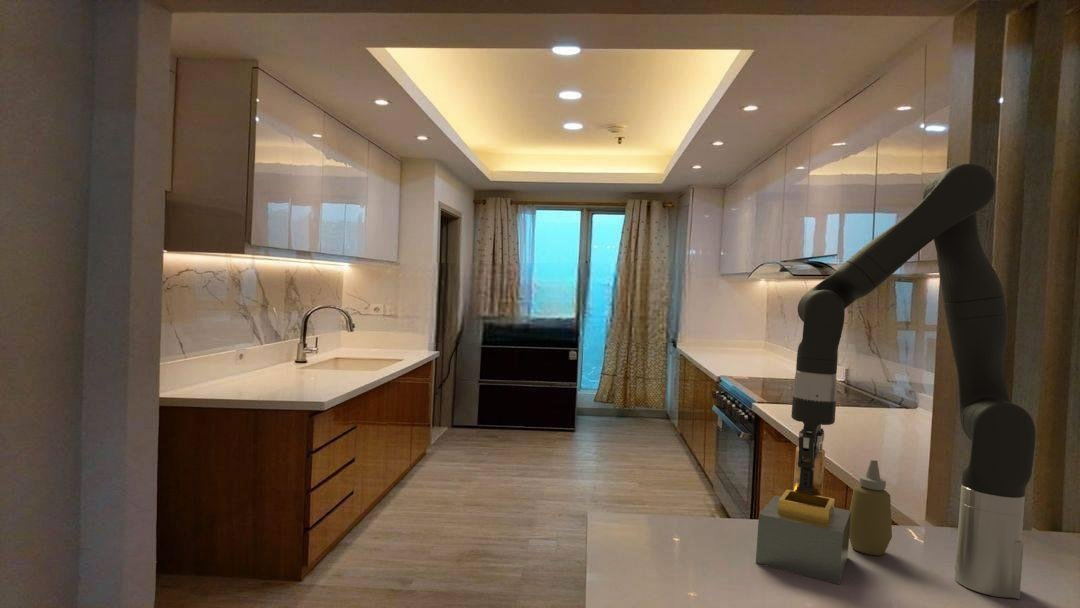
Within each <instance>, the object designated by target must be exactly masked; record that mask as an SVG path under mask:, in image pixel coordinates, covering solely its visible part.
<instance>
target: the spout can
mask: <svg viewBox="0 0 1080 608" xmlns="http://www.w3.org/2000/svg"><path fill="white" fill-rule="evenodd" d="M798 451H799V445H798V446H796V448H795V460H794V475H793V487H792V489H793V491H796V492H798V493H801V494H805V495H811V496H822V495H823V485H824V471H825V458H826V450H825V449H820V451H819V458H818V459H816V460H815V469H814V477H813V489H812V490H811V491H806V490H801V489H800V487H799V485H800V470H801V469H800V467H798V457H799V454H798ZM815 452H816V451H814V453H815ZM804 461H806V462H810V458H809V457H804Z"/></svg>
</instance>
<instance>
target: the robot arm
mask: <svg viewBox="0 0 1080 608" xmlns="http://www.w3.org/2000/svg"><path fill="white" fill-rule="evenodd" d="M995 190H996V182H995V178H994V176H993V174H992V173H991V172H990V171H989V169H987V168H986V167H984V166H982V165H980V164H978V163H977V164H976V163H961V164H960V163H959V164H956V165H953V166H951V167H949V168H947V169H945V170H944V171H941V172H940V173H938V174H936V175H934V176H933V177H932V178H930V180H929V181H928V182H927V183H926V185H925V187H924V189H923V193H922V201H921V202H919V204H918V205H917V206H915V208H914V209H912V210H911V211H910V212H908V213H907V215H905V216H904V217H903V218H901V219H899V220H898V222H896V223H895V224H893V225H892V226H891V227H889V228H887V229H886V230H884V231H883V232H881V233H880V234H879V235H877V236H876V237H875V238H873V239H872V240H871V241H869V242H868V243H867V244H865V245H864V246H863V247H862V248H861V249H859V250H858V251H857V252H855V254H853V255H852V256H851V257H849V258H848V259H847V260H846V261H845V262H843V264H841V266H840V267H838V269H837V270H835V271H834V272H833V273H831V275H829V276H827V277H826V278H825V279H823V280H822V281H820V282H819V283H818V284H816V285H814V287H812V288H811V289H809V290H808V291H807V292H806V293H805V294H804V295H803V296H801V298H800V300H799V301H798V304H797V314H798V317H799V318H800V320H801V321H802V323H803V326H802V338H801V342H799V344H798V347H797V351H796V352H797V353H796V363H795V364H796V365H795V374H794V379H793V380H794V381H793V389H792V403H791V418H792V419H793V420H794V421H796V422H801V423H803V428H802V429H801V430H799V433H798V446H799V451H798V454H799V457H798V467H800V469H801V470H800V485H799V487H800V489H801V490H806V491H811V490H812V489H813V477H814V469H815V460H816V459H818V458H819V451H820V449H823V447H824V445H823V443H824V439H825V430H824V428H822V426H831V425H834V423H835V421H836V410H837V409H836V408H837V395H838V393H837V392H838V379H837V372H838V359H839V358H838V357H839V356H838V355H839V353H838V352H839V351H838V350H839V346H840V341H841V337H842V333H843V329H844V325H845V324H844V323H845V314H846V313H845V312H846V311H845V309H847V308H848V307H849V306H850V305H852V304H853V303H854V302H855V301H857V300H859V299H861V298H863V297H865V296H867V295H869V294H870V293H872V292H873V291H874V290H875V289H876V288H878V287H879V286H881V284H883V283H884V282H885V281H886V280H887V279H888V278H889V277H890V276H891V277H892V275H893V274H895V272H896V271H897V270H899V269H900V268H901V267H902V266H904V265H905V264H906V263H907V262H908V261H909V260H910V259H911V258H912V257H914V256H915V255H916V254H918V253H919V251H921V250H922V249H923V248H924V247H926V246H927V245H928V244H930V243H931V242H932V241H933V242H934V246H935V250H936V259H937V266H938V273H939V279H940V285H941V291H942V292H941V293H942V300H943V301H942V302H943V307H944V314H945V318H946V325H947V328H948V329H947V330H948V333H949V339H950V345H951V351H952V354H953V357H954V363H955V367H956V371H957V372H956V373H957V380H958V398H959V401H958V402H959V403H958V404H959V419H960V426H961V429H962V430H963V432H964V434H965V435H966V437H967V438H968V439H969V440H970V441H971V449H970V458H969V463H968V465H967V467H964V469H963V470H962V473H961V485H960V487H961V488H960V498H959V499H960V500H959V515H958V528H957V540H956V553H955V554H956V555H955V566H954V579H955V581H956V582H957V583H958V584H960V585H961V586H963V587H965V588H967V589H970V590H972V591H975V592H977V593H981V594H983V595H987V596H993V597H998V598H1012V599H1017V600H1020V599H1021V598H1020V597H1021V588H1022V587H1021V584H1022V573H1023V561H1024V560H1023V559H1024V547H1025V546H1024V542H1023V540H1022V539H1023V529H1024V528H1023V526H1024V525H1023V524H1024V510H1025V500H1026V499H1025V496H1026V488H1027V485H1028V484H1029V482H1030V480H1031V478H1032V474H1033V467H1034V466H1033V465H1034V464H1033V463H1034V459H1035V458H1034V457H1035V450H1036V449H1035V448H1036V440H1037V439H1036V437H1037V436H1036V435H1037V434H1036V426H1035V422H1034V419H1033V418H1032V415H1031V414H1030V413H1029V412H1028V411H1027V410H1025V408H1023V407H1022V406H1020V405H1017V404H1016V403H1012V401H1011V398H1010V396H1009V391H1008V387H1007V386H1008V385H1007V382H1006V378H1005V373H1004V372H1005V371H1004V364H1005V363H1004V359H1005V353H1006V348H1007V343H1008V333H1009V315H1008V309H1007V303H1006V298H1005V291H1004V289H1003V285H1002V283H1001V280H1000V278H999V276H998V274H997V272H996V271H995V269H994V267H993V265H992V263H991V262H990V259H989V258H988V256H987V254H986V253H985V251H984V249H983V247H982V244H981V241H980V240H981V239H980V237H979V232H978V223H977V222H978V221H977V220H978V219H977V213H978V212H980V211H982V210H983V209H984V208H985V207H986V206H988V204H989V203H990V202H991V200H992V199H993V197H994V195H995ZM823 450H824V449H823ZM814 451H816V452H815V453H814ZM804 457H809V458H810V462H806V461H804Z"/></svg>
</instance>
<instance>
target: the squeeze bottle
mask: <svg viewBox="0 0 1080 608" xmlns="http://www.w3.org/2000/svg"><path fill="white" fill-rule="evenodd" d="M867 467H868V468H867V471H866V474H865V475H860V476H859V480H858V481H859V482H858V484H859V485H858V486H855V487H854V488H853V490H852V491H853V492H852V497H851V502H850V507H849V511H851V518H850V532H849V542H850V545H851V548H852V547H853V548H854V549H853V548H852V549H853V550H855V551H857V550H858V551H857V552H859V551H860V553H862V554H866V555H871V556H881V555H884V554H886V553H885V552H886V550H887V548H888V546H889V544H890V542H891V540H892V537H893V529H892V528H893V527H892V506H891V505H892V503H891V494H890V493H889V492H888V491H887V490H885V489H887V488H886V487H887V486H886V485H887V481H886V480H885V479H883V478H881V475H880V469H879V463H878V460H876V459H870V461H869V465H868V466H867Z"/></svg>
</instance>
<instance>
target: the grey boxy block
mask: <svg viewBox="0 0 1080 608" xmlns="http://www.w3.org/2000/svg"><path fill="white" fill-rule="evenodd" d="M850 518H851V511H850V509H845V508H839V507H835V498H832V497H829V496H828V497H827V496H822V495H820V496H811V495H805V494H801V493H798V492H796V491H794V490H791V489H786V490H785V491H784V492H783V494H782V495H781V496H780V495H774V496H773V497H772V498H771V499H770V501H769V502H768V503H767V504H766V505H765V506H764V508H763V509H762V510H761V512H759V514H758V523H757V539H756V552H755V553H756V555H755V564H758V565H761V564H762V566H766V567H770V568H773V569H778V570H780V571H781V570H782V571H785V572H788V573H792V572H793V573H794V574H796V573H797V574H796V575H800V576H804V577H808V576H809V578H812V579H815V578H817V579H816V580H819V579H820V581H823V580H824V581H823V582H827V581H828V582H827V583H831V584H835V585H840V583H841V580H842V577H843V574H844V572H845V571H844V570H845V568H846V565H845V564H847V561H848V558H847V557H849V546H850V543H849V542H850V539H849V532H850ZM844 567H845V568H844ZM793 573H792V574H793Z"/></svg>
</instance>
